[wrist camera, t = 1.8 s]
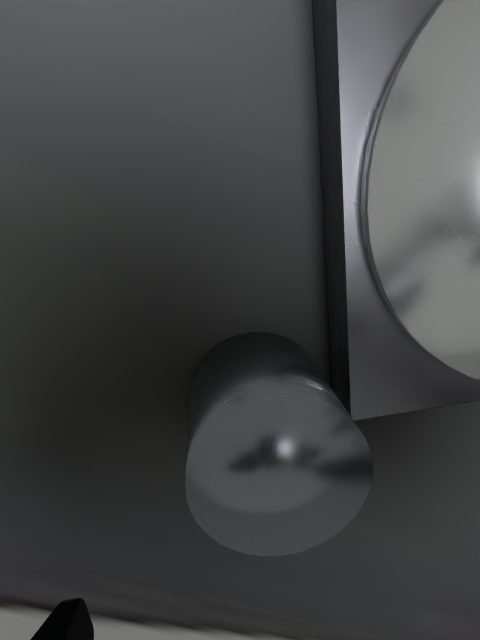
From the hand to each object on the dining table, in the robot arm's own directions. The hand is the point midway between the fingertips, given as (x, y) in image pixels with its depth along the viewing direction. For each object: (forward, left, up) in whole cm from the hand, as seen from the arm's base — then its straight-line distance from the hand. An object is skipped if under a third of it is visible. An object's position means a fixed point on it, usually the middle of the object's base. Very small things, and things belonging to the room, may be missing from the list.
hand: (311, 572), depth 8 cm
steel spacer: (0, 0, -8) cm, 8 cm away
